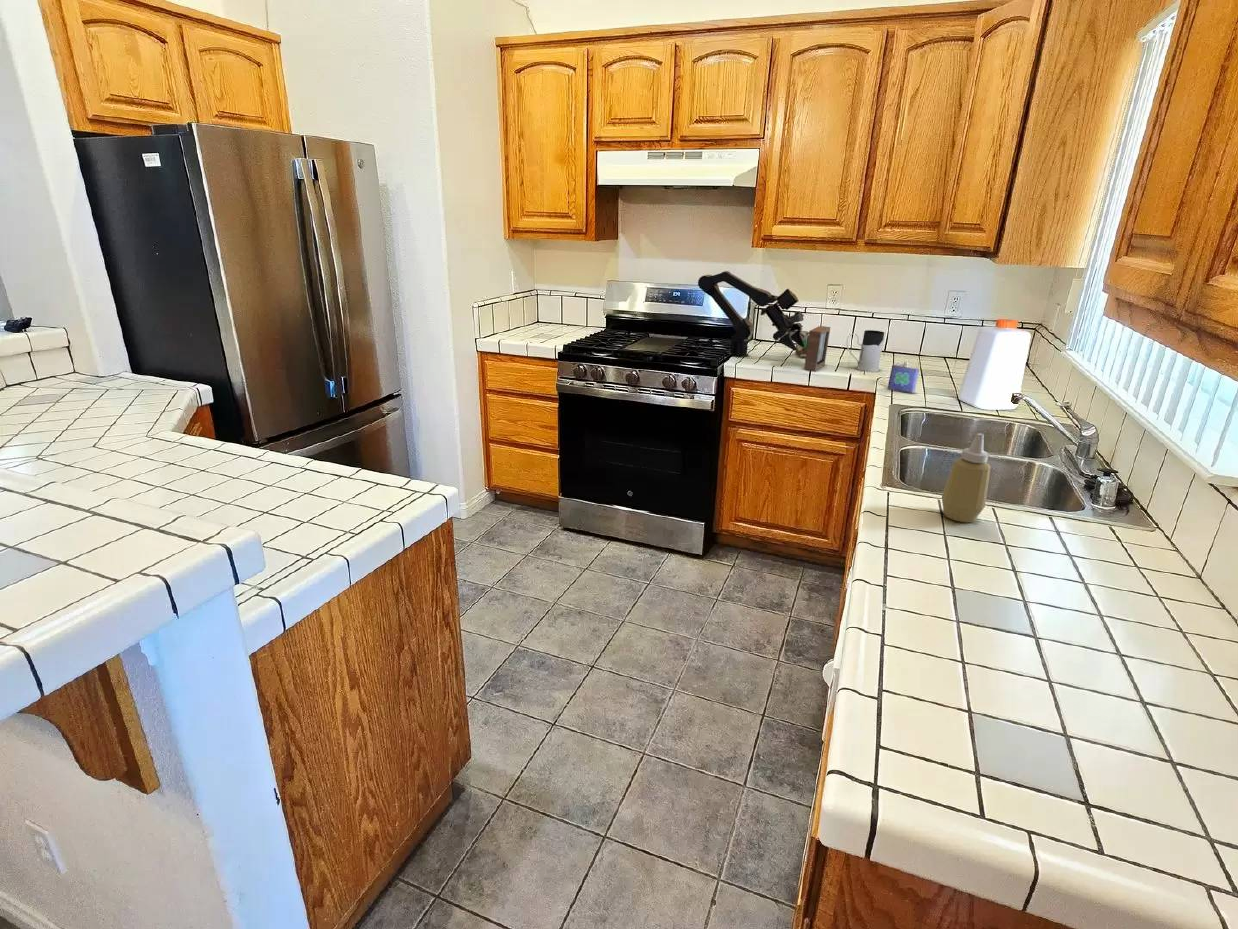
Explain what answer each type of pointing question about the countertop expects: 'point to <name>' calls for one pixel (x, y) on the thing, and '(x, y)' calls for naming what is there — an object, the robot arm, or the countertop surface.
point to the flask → (903, 378)
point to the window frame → (817, 348)
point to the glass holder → (870, 350)
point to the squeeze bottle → (967, 483)
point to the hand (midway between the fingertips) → (799, 348)
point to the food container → (801, 350)
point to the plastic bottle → (996, 366)
